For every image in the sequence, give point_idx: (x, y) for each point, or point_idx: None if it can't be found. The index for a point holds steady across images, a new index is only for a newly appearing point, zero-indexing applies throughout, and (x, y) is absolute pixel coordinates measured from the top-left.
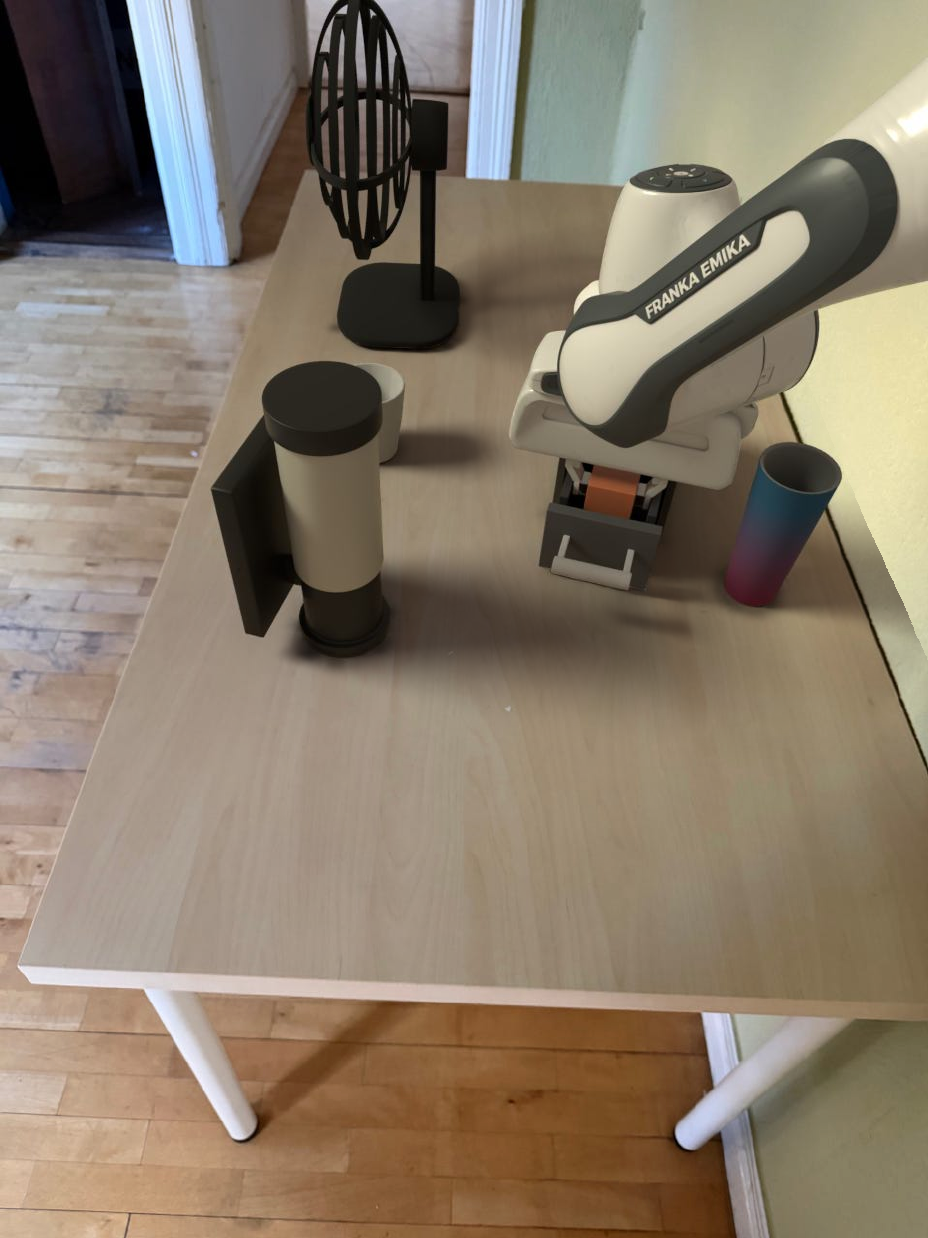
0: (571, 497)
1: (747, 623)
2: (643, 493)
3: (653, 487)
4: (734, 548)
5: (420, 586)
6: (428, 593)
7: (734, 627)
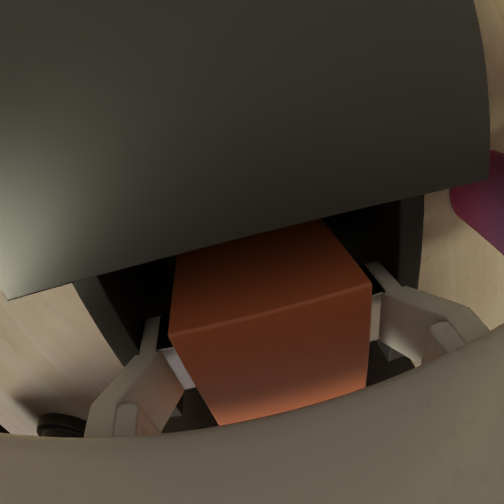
0: (150, 286)
1: (469, 246)
2: (376, 331)
3: (414, 358)
4: (500, 231)
5: (81, 395)
6: (95, 399)
7: (457, 261)
